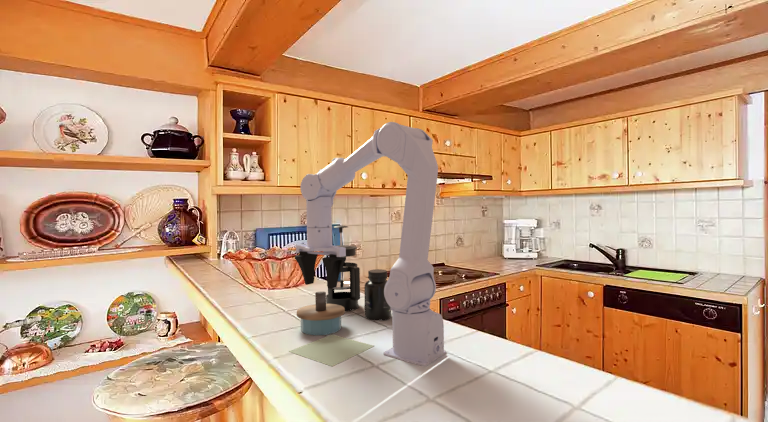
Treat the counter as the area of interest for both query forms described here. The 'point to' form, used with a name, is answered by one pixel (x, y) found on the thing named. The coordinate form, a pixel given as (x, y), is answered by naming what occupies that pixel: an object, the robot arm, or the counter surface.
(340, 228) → the french press
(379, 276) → the supplement bottle
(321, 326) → the teal bowl
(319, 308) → the walnut lid
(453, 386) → the counter surface
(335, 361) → the sage mat
